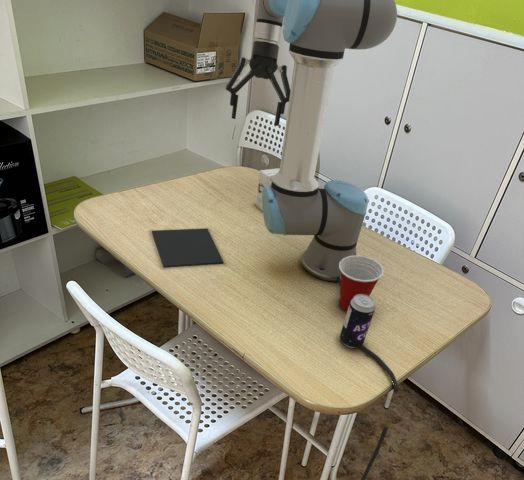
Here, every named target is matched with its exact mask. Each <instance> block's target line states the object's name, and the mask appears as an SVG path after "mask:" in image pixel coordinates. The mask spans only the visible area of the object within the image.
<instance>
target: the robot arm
mask: <svg viewBox="0 0 524 480" xmlns="http://www.w3.org/2000/svg"><path fill="white" fill-rule="evenodd" d="M256 14H257V15H256V20H255V27H254V36H253V39H255V40H254V41H253V42H252V50H251V57H250V59H248V58H245V56H242V57H241V56H240V59H239V62H238V65H237V67H236V69H235V70H234V72H233V74H232V76H231V77H230V79H229V80H228V82H227V84H226V85H225V88H224V89H225V90H226V91H228V92H229V93H230V98H229V105H230V106H231V107H232V110H231V119H233V120H236V116H237V108H238V101H239V94H238V92H239V91H240V90H241V89H242V88H243V87H244V86H245V85H246V84H247V83H248V82H249V81H250V80H252V79H253V77H255V78H257V79H263V80H269V81H270V83H271V84H272V88H273V89H274V91H275V92H276V95H277V97H278V98H279V101H277V104H276V105H277V106H276V112H275V119H274V126H277V127H279V126H280V121H281V115H284V113H285V110H286V105H287V103H288V105H287V106H288V107H287V114H286V120H285V128H284V134H283V141H282V142H283V143H282V148H281V155H280V156H281V157H280V164H279V168H280V170H279V172H278V173H277V174H276V175H274V176H273V177H272V183H271V186H270V185H268V186H265V187H264V189H263V193H262V208H263V211H262V216H263V221H264V225H265V228H266V230H267V232H269V234H273V235H282V236H313V237H312V239H311V241H310V242H309V244H308V246H307V248H306V249H305V250H304V252H303V254H302V258H301V266H302V268H303V269H304V270H305V271H306V272H307V273H308V274H309V275H311V276H313V277H315V279H316V278H317V279H319V280H321V281H326V282H332V283H338V285H339V288H340V287H341V271H340V269H339V262H340V261H341V260H342V259H343V258H345V257H348V256H354V255H357V245H358V241H359V237H360V235H361V231H362V227H363V224H364V222H365V217H366V215H367V211H368V204H369V197H368V195H367V193H366V192H365V191H364V190H363V189H361V188H360V187H358V186H357V185H354V184H352V183H350V182H348V181H343V180H338V179H331V180H328V181H326V183H325V184H324V186H323V188H320V183H319V181H318V180H317V178H315V175H316V169H317V165H318V159H319V152H320V147H321V142H322V136H323V131H324V125H325V120H326V116H327V115H326V114H327V109H328V104H329V98H330V92H331V86H332V82H333V76H334V71H335V70H334V69H335V67H336V66H337V65H338V64H339V63H341V62H342V61H343V60H344V57H345V50H346V49H347V50H368V49H372V48H375V47H377V46H379V45H381V44H382V43H384V42H385V41H386V40H387V39H388V38H389V37H390V36H391V35H392V33H393V31H394V29H395V27H396V23H397V20H398V8H397V3H396V1H395V0H258V6H257V13H256ZM281 36H282V37H283V40H284V41H285V42H286V43H287V44H289V45H288V46H289V47H288V52H289V54H290V56H291V57H292V59H293V62H294V63H293V64H294V65H293V70H292V77H291V85H290V84H289V79H288V74H287V73H288V72H287V71H288V66H287V65H285V64H282V65H278V57H279V51H280V46H279V44H280V43H281V38H282V37H281ZM247 65H249V68H250V70H249V71H248V73H246V75H245V76H244V77H243V78H242V79H241V80H240V81H239V82H238V83H237V84H235V83H236V81H237V80H238V78H239V76H240V75H241V73H242V71H243V70H244V68H245V67H247ZM277 71H278V73H279V74H280V79H281V82H282V85H283V90H284V92H283V90H282V88H281V86H280V84H279V82H278V81H277V78H276V76H275V73H276V72H277ZM234 84H235V85H234ZM358 348H359V349H361V351H363V352H364V353H365V354H367V355H368V356H370V357H371V358H373V360H375V361H376V362H377V363H378V364H379V365H380V366H381V368H382V369H383V370H384V371H385V372H386V371H387V372H386V373H387V374H388V376H389V378H390V381H391V380H392V381H393V383H394V385H393V383H392V381H391V384H392V390H393V392H394V393H395V394H398V393H399V388H398V387H399V386H398V381H397V378H396V376H395V374H394V373H393V371H392V370H391V368H390V367H389V366H388V365H387V364H386V363H385V362H384V360H382V358H381V357H379V356H378V355H377V354H376V353H375V352H374V351H372V350H371V349H369V348H368V347H366V346H365V345H364V344H363V345H361V346H360V347H358ZM395 384H396V385H395ZM388 430H389V427H384V428H382V431H381V434H380V437H379V439H378V441H377V443H376V446H375V448H374V451H373V453H372V455H371V457H370V459H369V461H368V463H367V466H366V467H365V470H364V471H363V474H362V476H361V479H360V480H366V479H367V476H368V475H369V473H370V470H371V468H372V467H373V464H374V462H375V460H376V458H377V456H378V454H379V452H380V449H381V447H382V445H383V443H384V441H385V438H386V435H387V432H388Z"/></svg>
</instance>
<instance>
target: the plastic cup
mask: <svg viewBox="0 0 524 480" xmlns="http://www.w3.org/2000/svg"><path fill="white" fill-rule="evenodd" d="M339 269H340V271H341V287H340V286H339V307H340V308H341V309H342V310H343V311H345V312H347V311H348V307H349V304H350V301H351V300H352V299H353V297H354V296H355V295H358V294H364V295H367V296H370V297H371V294H372V292H373V290H374V289H375V286H376V285H377V283H378V281H379V280H380V279H381V278H382V277H383V275H384V273H385V272H384V271H385V269H384V267H383V266H382V264H381V262H379V261H377V260H376V259H375V258H372V257H369V256H366V255H359V254H356V255H354V256H348V257H345V258H343V259H342V260H341V261H340V262H339Z"/></svg>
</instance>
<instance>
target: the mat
mask: <svg viewBox="0 0 524 480" xmlns="http://www.w3.org/2000/svg"><path fill="white" fill-rule="evenodd" d="M151 234H152V237H153V239H154V243H155V246H156V248H157V251H158V254H159V257H160V261H161V263H162V266H163V268H176V267H189V266H190V267H191V266H203V265H205V266H206V265H222V264H225V263H224V259H223V258H222V256H221V254H220V252H219V249H218V248H217V246H216V243H215V241H214V239H213V238H212V235H211V233H210V231H209V229H208V228H207V227H206V228H184V229H183V228H182V229H159V230H156V229H155V230H151Z"/></svg>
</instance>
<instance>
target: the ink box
mask: <svg viewBox="0 0 524 480" xmlns="http://www.w3.org/2000/svg"><path fill="white" fill-rule="evenodd" d="M279 170H280V167H279V168H270V169H269V168H268V169H260V170H259V175H258V176H259V177H258V183H257V191H256V198H255V206H256V207H257V208H258V209H259V210H260V211H262V212H263V208H262V193H263V189H264V187H265V186H268V185H270V186H271V183H272V177H273V176H274V175H276V174H277V173H278V172H279Z"/></svg>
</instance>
